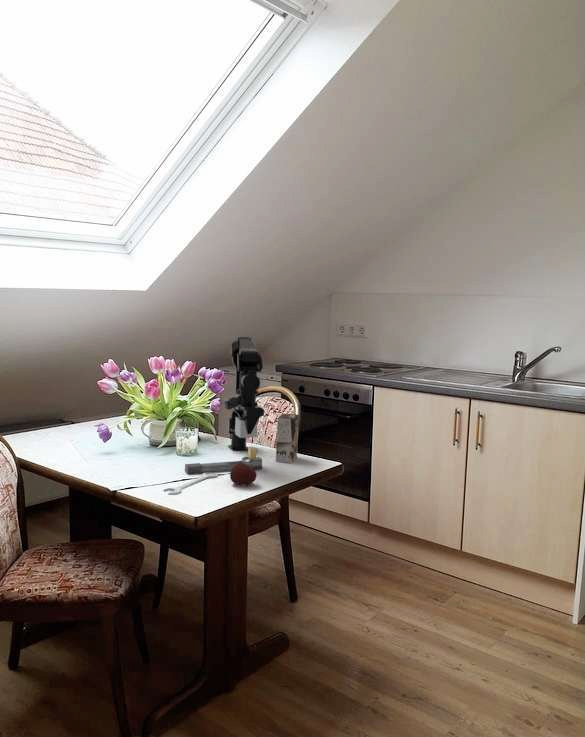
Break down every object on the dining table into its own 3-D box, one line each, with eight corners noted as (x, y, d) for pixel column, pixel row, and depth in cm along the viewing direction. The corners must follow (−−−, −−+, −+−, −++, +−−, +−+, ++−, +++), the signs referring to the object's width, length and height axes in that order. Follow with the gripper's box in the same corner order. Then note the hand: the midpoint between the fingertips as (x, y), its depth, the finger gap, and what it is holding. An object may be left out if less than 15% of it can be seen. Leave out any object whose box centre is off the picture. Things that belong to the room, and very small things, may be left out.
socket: (235, 434, 226) (235, 417, 225) (251, 433, 228) (252, 416, 228) (240, 437, 221) (240, 420, 220) (257, 437, 223) (257, 419, 222)
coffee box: (292, 463, 233) (294, 419, 231) (275, 461, 234) (276, 417, 232) (297, 457, 242) (299, 414, 240) (280, 455, 243) (282, 412, 241)
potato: (253, 489, 202) (254, 467, 201) (227, 486, 203) (227, 465, 202) (258, 482, 209) (259, 461, 208) (233, 480, 210) (233, 459, 210)
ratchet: (183, 469, 219) (184, 449, 218) (257, 464, 230) (258, 444, 229) (188, 475, 213) (189, 454, 212) (264, 469, 223) (265, 449, 222)
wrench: (159, 495, 195) (173, 498, 193) (159, 490, 195) (173, 493, 193) (207, 474, 217) (221, 476, 215) (208, 469, 217) (221, 472, 215)
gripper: (217, 383, 228) (216, 427, 230) (233, 391, 211) (231, 439, 213) (247, 383, 232) (246, 426, 234) (265, 391, 215) (263, 437, 217)
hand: (246, 432), depth 224 cm, fingers closed on socket, 6 cm apart
